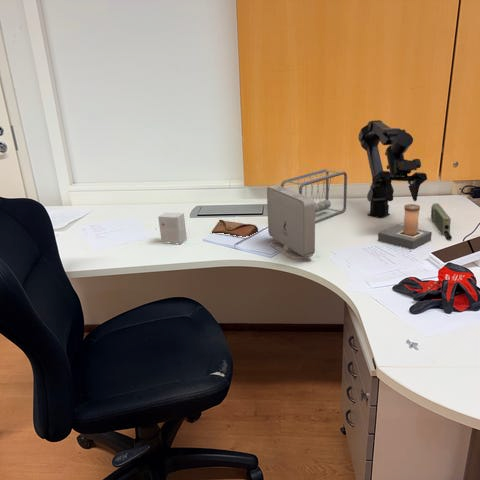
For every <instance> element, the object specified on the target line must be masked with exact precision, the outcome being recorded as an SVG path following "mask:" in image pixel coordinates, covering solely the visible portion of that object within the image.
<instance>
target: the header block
mask: <svg viewBox="0 0 480 480" xmlns="http://www.w3.org/2000/svg"><path fill="white" fill-rule="evenodd" d="M403 229H404V225H401V224H395V225H393V226H391V227H388V228H386V229H383V230H381V231H379V232H378V233H377V242H381V243H385V244H390V245H393V246H397V247H400V246H401V247H400V248H404V247H405V249H408V250H412V249H413V250H414V249H416V248H419V247H420V246H423V245H425V244H427V243H429V242H430V241H432V235H433V233H432V231H428V230H425V229H419V228H417V235H416V236H414V237H412V236H408V235H404V234H403ZM418 246H419V247H418Z"/></svg>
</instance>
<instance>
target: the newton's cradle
mask: <svg viewBox="0 0 480 480" xmlns="http://www.w3.org/2000/svg"><path fill="white" fill-rule="evenodd" d="M329 172H330V173H329ZM323 174H324V175H323ZM317 176H320V177H317ZM339 176H344V177H343V208H342V210H338V209H335V208H330V207H331V206H332V205H331V204H332V202H331V201H330V200H329V196H330V195H329V191H330V185H331V184H330V182H331V179H333V178H335V177H339ZM311 177H315V178H311ZM308 178H309V179H308ZM296 181H302V182H296ZM320 182H322V187H323V189H322V191H323V193H322V196H321V197H323V196H324V195H323V194H325V196H324V197H325V198H324V200H323V199H321V197H320V196H316V198H315V197H314V196H313V194H314V193H313V189H314V185H313V184H315V183H317V184H316V185H317V188H320V187H319V185H320V184H319V183H320ZM286 183H289V184H295V185H296V184H297V187H298V193H299V194H301V195H303V188H305V190H307V188H308V186H309V185H311V193H310V194H311V195H310V196H312V199H313V200H314V199H316V200H317V198H319V202H315V214H316V213H318V211H319V212H322V211H324V210H331V211H334V213H331V214H328V215H325V216H323V217H320V218H319V219H315V224H319V223H320V222H323V221H325V220H328V219H330V218H333V217H335V216H338V215H342V214H343V213H345V212H346V209H347V196H348V195H347V193H348V190H347V188H348V175H347V172H346V171H336V170H335V171H334V170H328V169H321V170H317V171H313V172H310V173H309V172H308V173H306V174H302V175H298V176H295V177H292V178H287V179H284V180H282V182H281V184H280V186H281V187H284V188H285V184H286ZM316 194H320V192H319V189H317V192H316ZM304 195H305V196H308V194H307V191H305V192H304ZM314 201H315V200H314ZM321 210H322V211H321Z"/></svg>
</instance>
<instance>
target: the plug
mask: <svg viewBox="0 0 480 480" xmlns="http://www.w3.org/2000/svg"><path fill="white" fill-rule="evenodd" d="M403 209H404V216H403V226H404V229H403V234H404V235H408V236H412V237H414V236H416V235H417V229H419V228H418V226H419V217H420V215H419V214H420V210H421V206H420V205H419V204H414V203H413V204H412V203H411V204H409V203H408V204H404V207H403Z"/></svg>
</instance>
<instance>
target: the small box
mask: <svg viewBox="0 0 480 480" xmlns="http://www.w3.org/2000/svg"><path fill="white" fill-rule="evenodd" d="M157 218H158V225H159V232H160V233H159V234H160V239H161V240H160V241H161V243H162V242H170V243H178V244H177V245H182V244H183V243H184V242H185V241H187V240H188V238H187V237H188V236H187V229H186V218H185V213H184V212H163V213H162V214H160V215H158V217H157ZM186 239H187V240H186ZM184 240H185V241H184ZM183 241H184V242H183ZM182 242H183V243H182Z"/></svg>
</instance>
